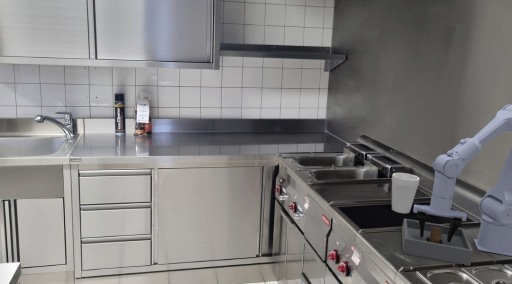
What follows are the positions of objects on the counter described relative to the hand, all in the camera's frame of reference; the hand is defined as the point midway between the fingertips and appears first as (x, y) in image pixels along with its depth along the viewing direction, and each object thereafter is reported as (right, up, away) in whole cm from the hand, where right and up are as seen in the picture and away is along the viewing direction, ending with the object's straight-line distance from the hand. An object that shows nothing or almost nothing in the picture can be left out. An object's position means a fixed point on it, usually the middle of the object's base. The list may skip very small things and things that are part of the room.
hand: (434, 238), depth 135 cm
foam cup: (0, +4, +31) cm, 31 cm away
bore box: (0, -3, +1) cm, 3 cm away
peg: (0, -3, +1) cm, 3 cm away
